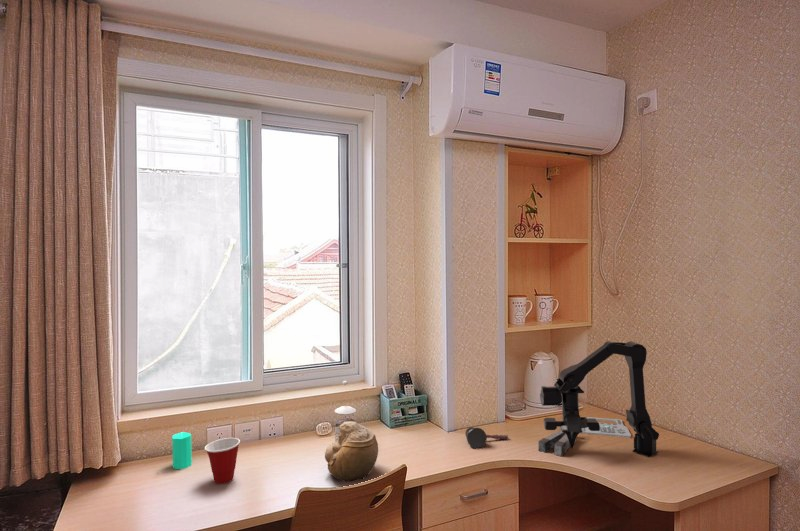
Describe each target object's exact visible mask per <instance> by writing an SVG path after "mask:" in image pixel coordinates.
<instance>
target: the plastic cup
mask: <svg viewBox="0 0 800 531" xmlns="http://www.w3.org/2000/svg"><path fill="white" fill-rule="evenodd" d="M240 443H241V440H240V439H239V438H237V437H225V438H219V439H216V440H214V441H211V442H209V443H208V444H206V445H205V446H204V451H206V453H207V455H208V458H209V463H210V467H211V468H210V469H211V472H212V477H213V481H214V483H215V484H217V485H222V484H228V483H230V482H231V481H233V480H234V476H235V470H236V465H237V458H238V457H237V456H238V452H239V446H240Z"/></svg>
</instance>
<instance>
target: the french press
mask: <svg viewBox="0 0 800 531" xmlns="http://www.w3.org/2000/svg"><path fill="white" fill-rule="evenodd" d="M342 385H348V381H347V380H343V381H342ZM356 411H357V409H356V408H354V407H352V406H349V405H342V406H339V407H338V408H336V409H334V412H333V413H335V414H336V415H339V416H344V418H339V419H337V420H335V425H334V435H335V436H334V442H336V441H337V439H338V432H339V431H340V428H339V426H340V425H341V424H342V423H344V422H346V421H347V422H348V421H351V422H352V421H353V422H356V421H355V419H354V418H350V416H352V415H354V414H355V413H356ZM346 416H348V417H346Z"/></svg>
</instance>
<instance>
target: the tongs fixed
mask: <svg viewBox="0 0 800 531" xmlns="http://www.w3.org/2000/svg"><path fill="white" fill-rule="evenodd" d="M565 434H566V433H565V432H562V430H561V428H560V429H558V430H555V432H553V433H552V434H549V435H547V436H545V437H544V438H541V439H539V440H538V452H542V453H547V452H549V451H551V449H554V444H555V443H556V442H557V441H559V440H560V439H561V438H562V437H563V436H564V435H565Z"/></svg>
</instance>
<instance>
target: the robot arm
mask: <svg viewBox="0 0 800 531" xmlns="http://www.w3.org/2000/svg"><path fill="white" fill-rule="evenodd" d="M647 352H648V351H647V348H646V347H645V346H644V345H643V344H641V343H639V342H638V343H637V342H635V341H633V340H632V341H631V340H630V341H627V342H621V341H620V342H617V341H610V340H608V341H605V342H604V343H603V344H602V345H601V346H599V347H598V348H597V349H596V350H595V351H593V352H592V353H590V354H589V355H588V356H586V357H585V358H583V359H582V360H581V361H580V362H578V363H576V364H574V365H571V366H568V367H566V368H564V369H562V370H561V371H560V373H559V378H558V379H557V380H556V382H554V385H553V386H545V385H543V386H541V387H540V388H541V390H540V393H539V399H540V404H541V406H543V407H544V406H546V407H548V406H552V407H553V406H559V405H561V412H562V420H556V418H555V417H544V418H543V427H544V429H545V431H556V430H557V428H558V427H559V428H560V429H561V430H562V432H565V433H566V435H567V438H568V440H569V443H570V448H571V449H573V448H574V445H575V443H576V441H577V438H578V435H579V434H583V433H582V432H583V431H582V428H587V427H588V428H589V429H590V430H591V431H600V425H599V423H600V422H599V420H596V419H594V418H595V417H593V418H586V417H587V416H580V406H579V405H580V402H579V394H584V393H585V391H584V390H583V389H582V388H581V386H580V384H581V383H582V382H583V381H584V380H585V378H586V377H587V375H588V374H589V373H590V372H592V371H593V370H594V369H595V368H597V367H598V366H599V365H601V364H602V363H603V362H605V361H606V360H607V359H609V358H610V357H611V356H613V355H620V356H624V359H625V361H626V363H627V366H628V370H629V371H628V373H629V374H628V375H629V386H630V387H629V388H630V401H631V406H630V409H625V414H626V419H625V421H627V423H628V425H629V426H630V427H631V428H632V429H633V431H634V437H633V449H632V452H634V453H636V454H639V455H643V456H645V457H648V458H651V457H653V456H656V455H657V454H659V451H658V450H657V440H658V439H659V437H660V433H659V432H658V431H656V430H655V428H653V424H652V420H651V417H650V414H649V412H648V409H647V407H646V394H645V379H644V367H645V364H646V361H647ZM575 440H576V441H575Z"/></svg>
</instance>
